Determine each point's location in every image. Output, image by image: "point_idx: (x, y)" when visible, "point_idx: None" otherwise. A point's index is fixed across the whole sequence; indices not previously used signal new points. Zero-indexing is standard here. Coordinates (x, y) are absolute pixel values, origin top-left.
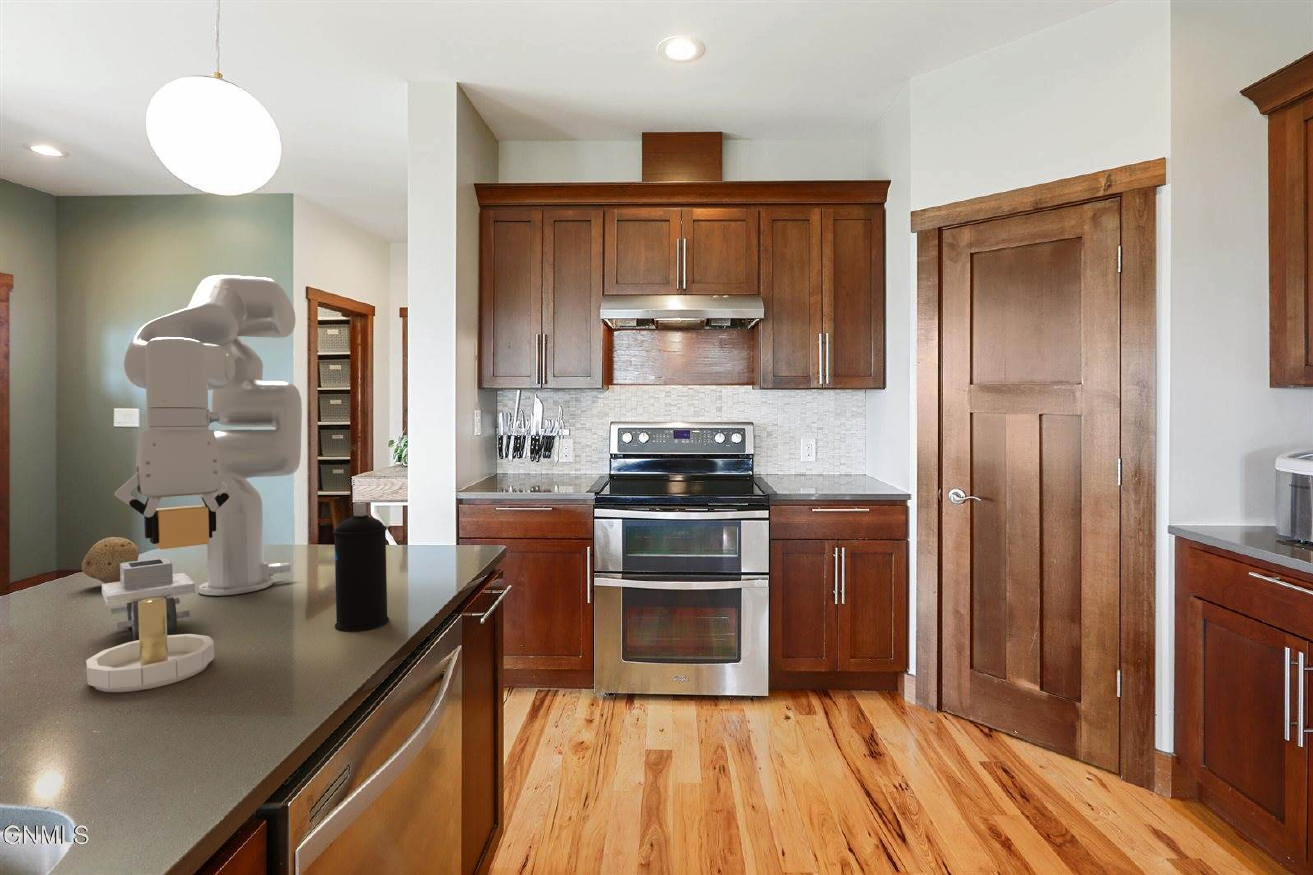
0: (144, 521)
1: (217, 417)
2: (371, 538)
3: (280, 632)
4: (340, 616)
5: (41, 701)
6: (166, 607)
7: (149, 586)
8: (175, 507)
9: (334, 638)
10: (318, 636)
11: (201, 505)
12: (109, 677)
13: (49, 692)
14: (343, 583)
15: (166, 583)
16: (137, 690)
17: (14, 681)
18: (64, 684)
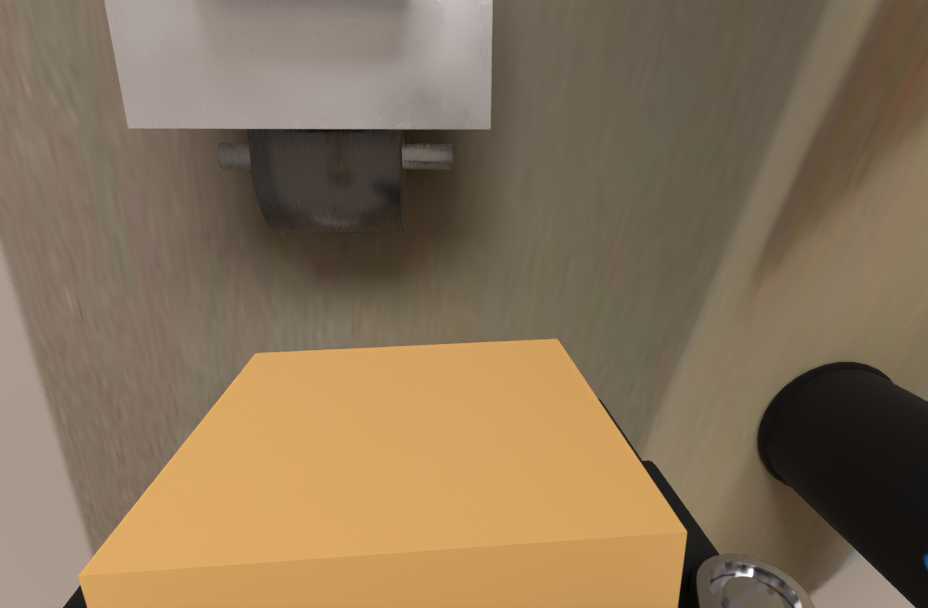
0: (77, 595)
1: None
2: None
3: (648, 354)
4: (787, 466)
5: (130, 506)
6: (371, 217)
7: (302, 34)
8: (356, 600)
9: (718, 492)
10: (700, 453)
11: (671, 588)
12: None
13: (134, 460)
14: (871, 557)
15: (379, 21)
16: None
17: (31, 321)
18: (156, 425)
